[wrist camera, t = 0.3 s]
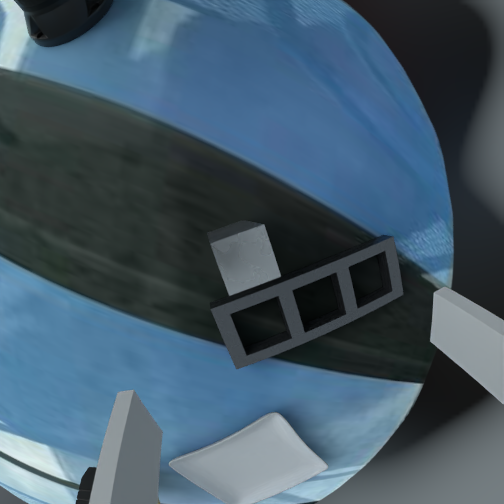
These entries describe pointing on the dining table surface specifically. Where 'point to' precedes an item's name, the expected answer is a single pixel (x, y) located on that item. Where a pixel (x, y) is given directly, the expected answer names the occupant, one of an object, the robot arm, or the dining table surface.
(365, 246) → the rack rail
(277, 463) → the salad plate
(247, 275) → the grey upright post
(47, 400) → the dining table surface
